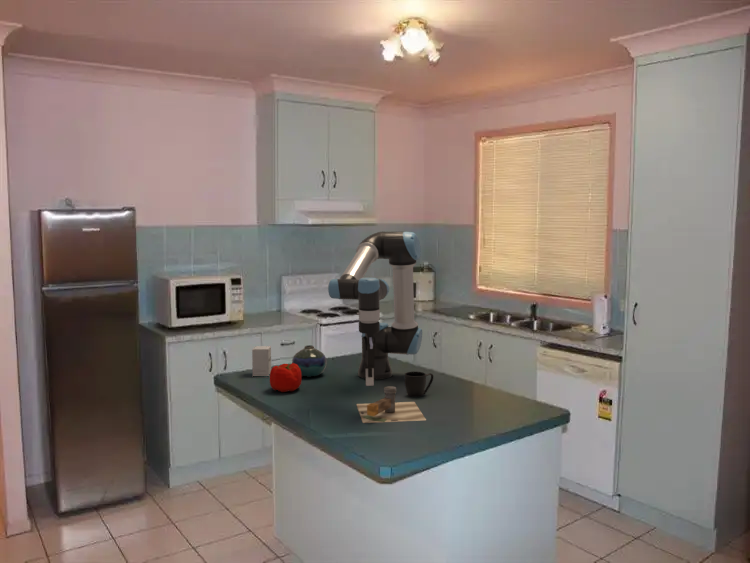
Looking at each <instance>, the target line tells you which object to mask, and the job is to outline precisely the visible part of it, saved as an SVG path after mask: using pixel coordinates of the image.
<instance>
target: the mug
mask: <svg viewBox="0 0 750 563" xmlns="http://www.w3.org/2000/svg"><path fill="white" fill-rule="evenodd" d="M427 376H430V380H429V382H428V384H427ZM433 381H434V374H433V373H425V372H422V371H408V372H405V373H404V384H405V385H404V386H405V390H406V395H407V396H408V397H413V398H420V397H423V396H425V395H426V393H427V392H428V390H429V388H430V387H431V386H432V383H433ZM426 384H427V385H426Z"/></svg>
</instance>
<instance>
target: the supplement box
mask: <svg viewBox="0 0 750 563" xmlns="http://www.w3.org/2000/svg"><path fill="white" fill-rule="evenodd" d="M251 351H252V352H251V353H252V354H251V355H252V356H251V358H252V359H251V360H252V377H253V376H269V377H270V375H269V374H270V372H271V369H272V346H270V345H269V346H268V345H258V346H256V345H255V346H254V347H253V348H252V349H251Z"/></svg>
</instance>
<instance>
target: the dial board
mask: <svg viewBox="0 0 750 563" xmlns="http://www.w3.org/2000/svg"><path fill="white" fill-rule="evenodd" d="M369 404H371V402H370V403H356V407H357V410H358V413H359V416H360V419H361V422H362V423H363V424H373V423H375V424H376V423H396V422H397V423H399V422H416V421H417V422H420V421H424V422H425V421H427V418H426V417H425V415H424V414H423V413H422V411H421V410H420V408H419V406H418V405H417V404H416V402H415V401H402V402H400V401H399V402H398V401H397V402H396V401H395V412H391V413H390V412H385V410H384V411H382V412H380V413H378V414H377V415H375V416H370V415H367V405H369Z"/></svg>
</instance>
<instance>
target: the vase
mask: <svg viewBox="0 0 750 563" xmlns="http://www.w3.org/2000/svg"><path fill="white" fill-rule="evenodd" d="M292 363H294V364H297V365H298V367H299V368H300V369H301V377H303V376H307V377H306V378H312V377H311V376H314V377H318V376H320V375H321V374H322V373H324V371H325V370H326V367H327V363H328V362H327V356H326V355H325V354H324V353H323V351H320V350H319V349H316V348H315V346H314V345H311V344H310V345H304V348H302V349H301V350H299V351H297V352H296V353H295V354H294V355H293V357H292V360H291V364H292Z"/></svg>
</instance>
